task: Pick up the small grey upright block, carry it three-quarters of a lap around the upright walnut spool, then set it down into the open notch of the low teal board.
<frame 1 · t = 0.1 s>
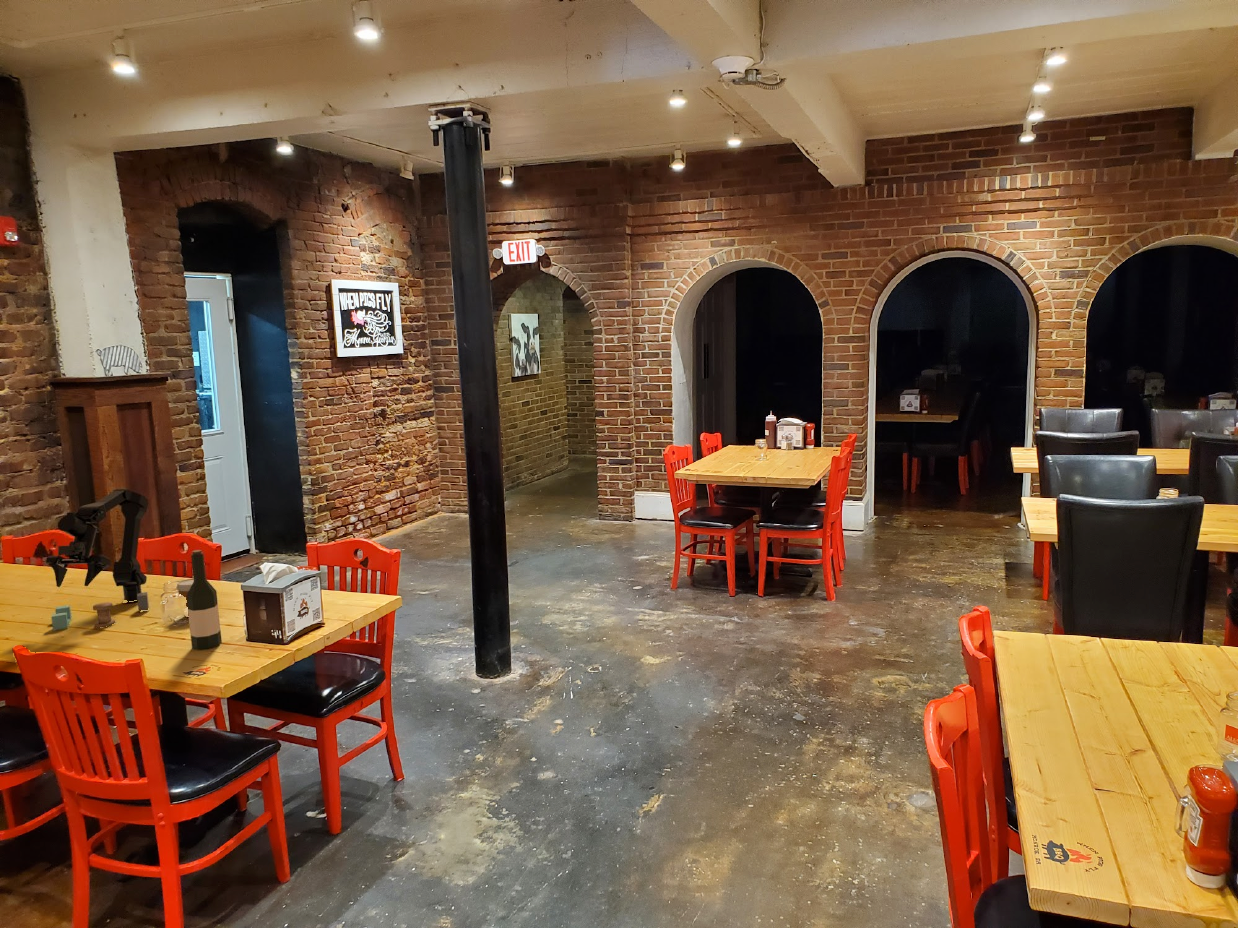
hand: (72, 586, 274), 15 cm above the table, tool tilted 30°, fingers open, 9 cm apart
grey upright block: (144, 610, 294), on the table
wine bottle: (207, 645, 257), on the table
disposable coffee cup: (195, 615, 287), on the table
spool: (105, 624, 280), on the table
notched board: (62, 624, 282), on the table
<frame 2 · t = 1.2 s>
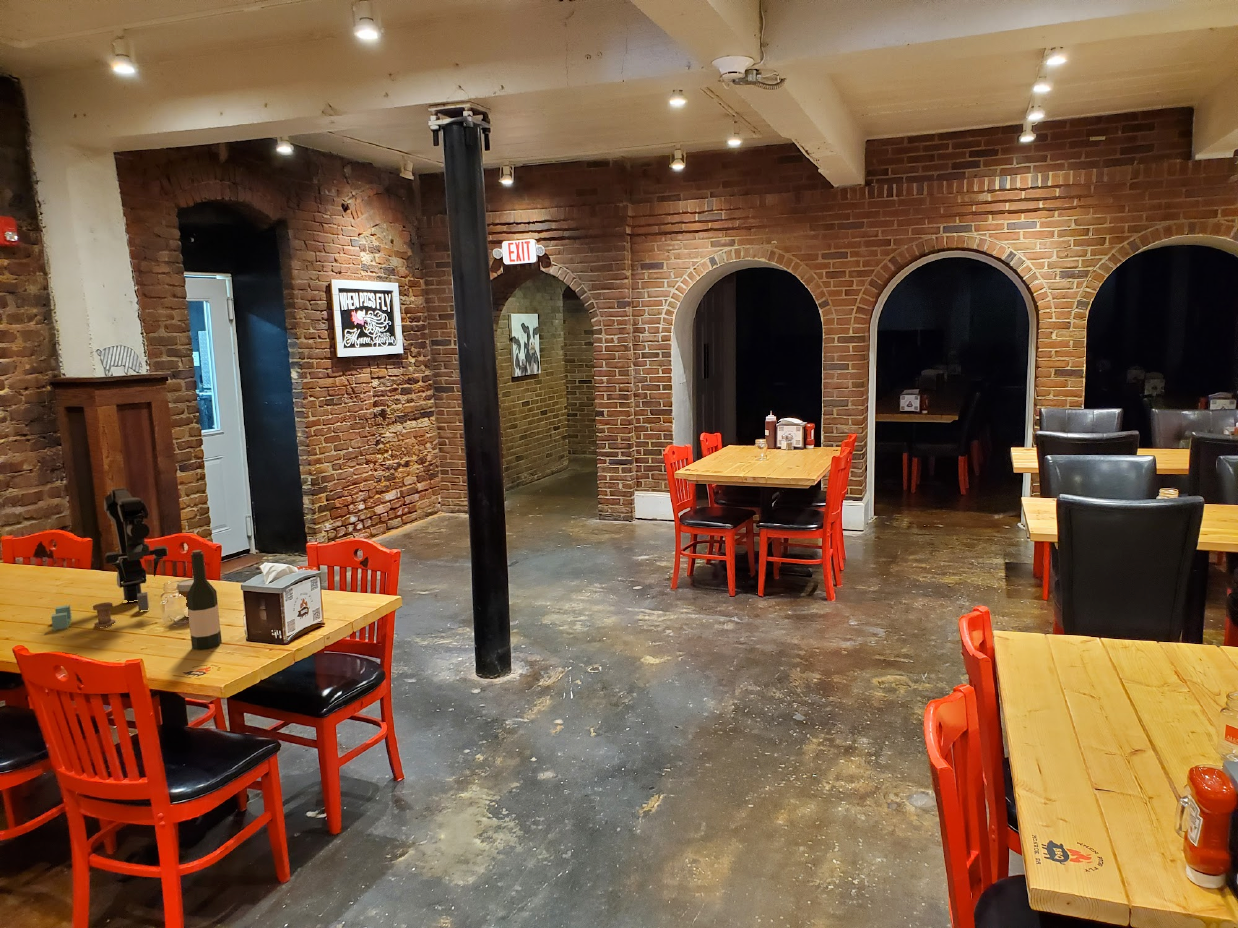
hand: (139, 578, 293), 12 cm above the table, tool pointing down, fingers open, 9 cm apart
nothing on the table moved.
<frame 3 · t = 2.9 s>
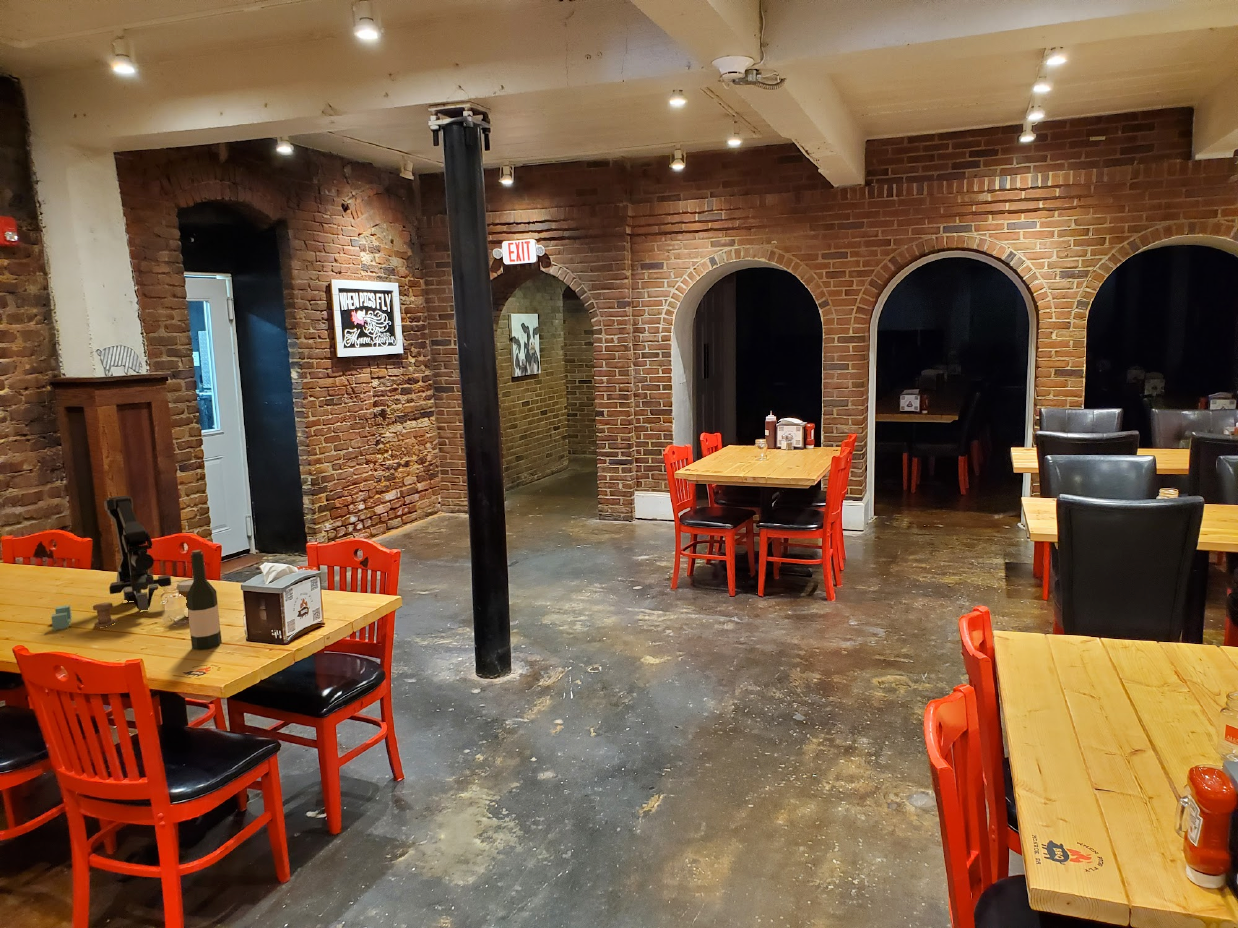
hand: (143, 607, 294), 1 cm above the table, tool pointing down, fingers closed on grey upright block, 3 cm apart
grey upright block: (144, 610, 294), on the table, touching gripper
everything else where it was.
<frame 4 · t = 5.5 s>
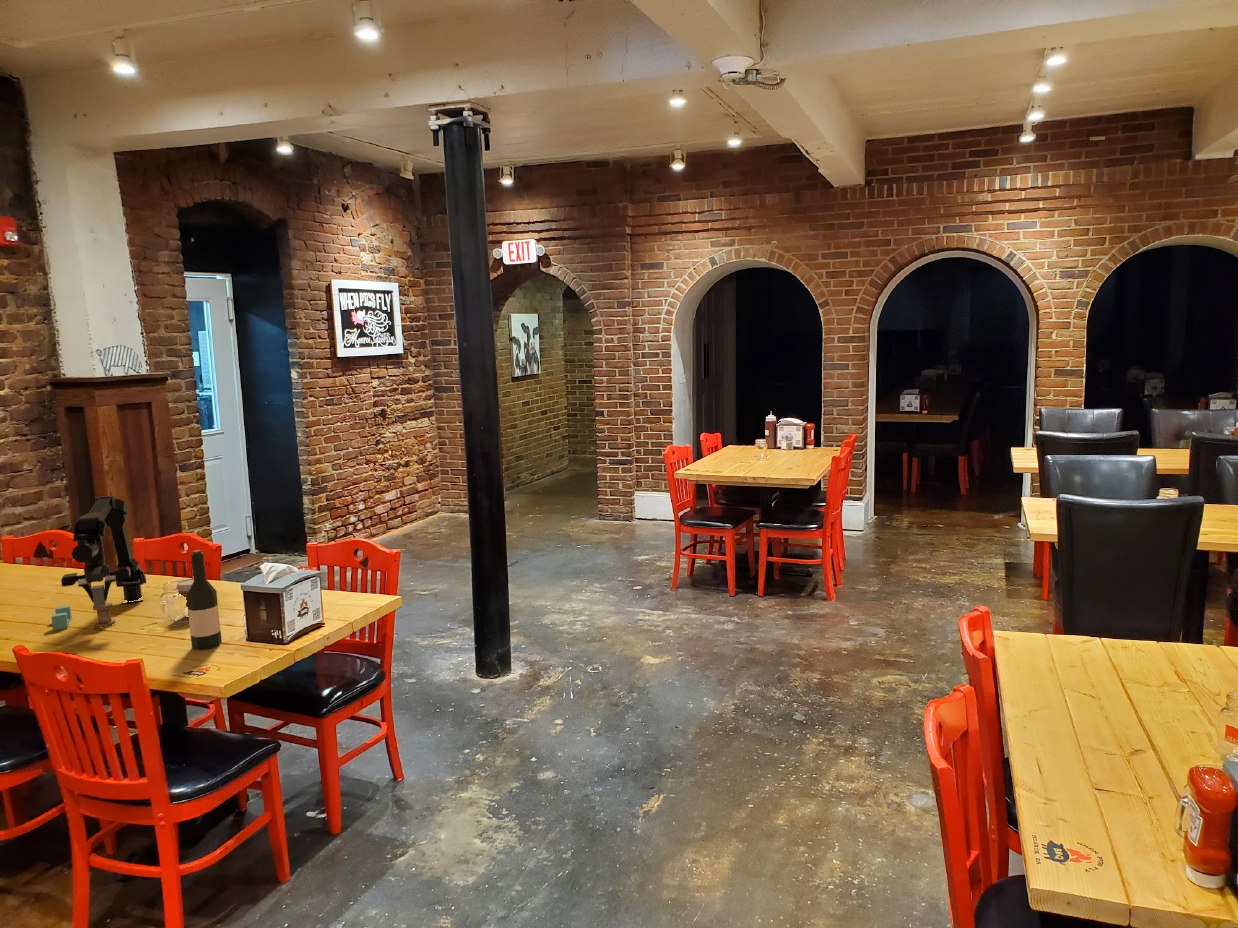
hand: (99, 601, 272), 10 cm above the table, tool pointing down, fingers closed on grey upright block, 3 cm apart
grey upright block: (100, 604, 272), point 9 cm above the table, touching gripper
everything else where it was.
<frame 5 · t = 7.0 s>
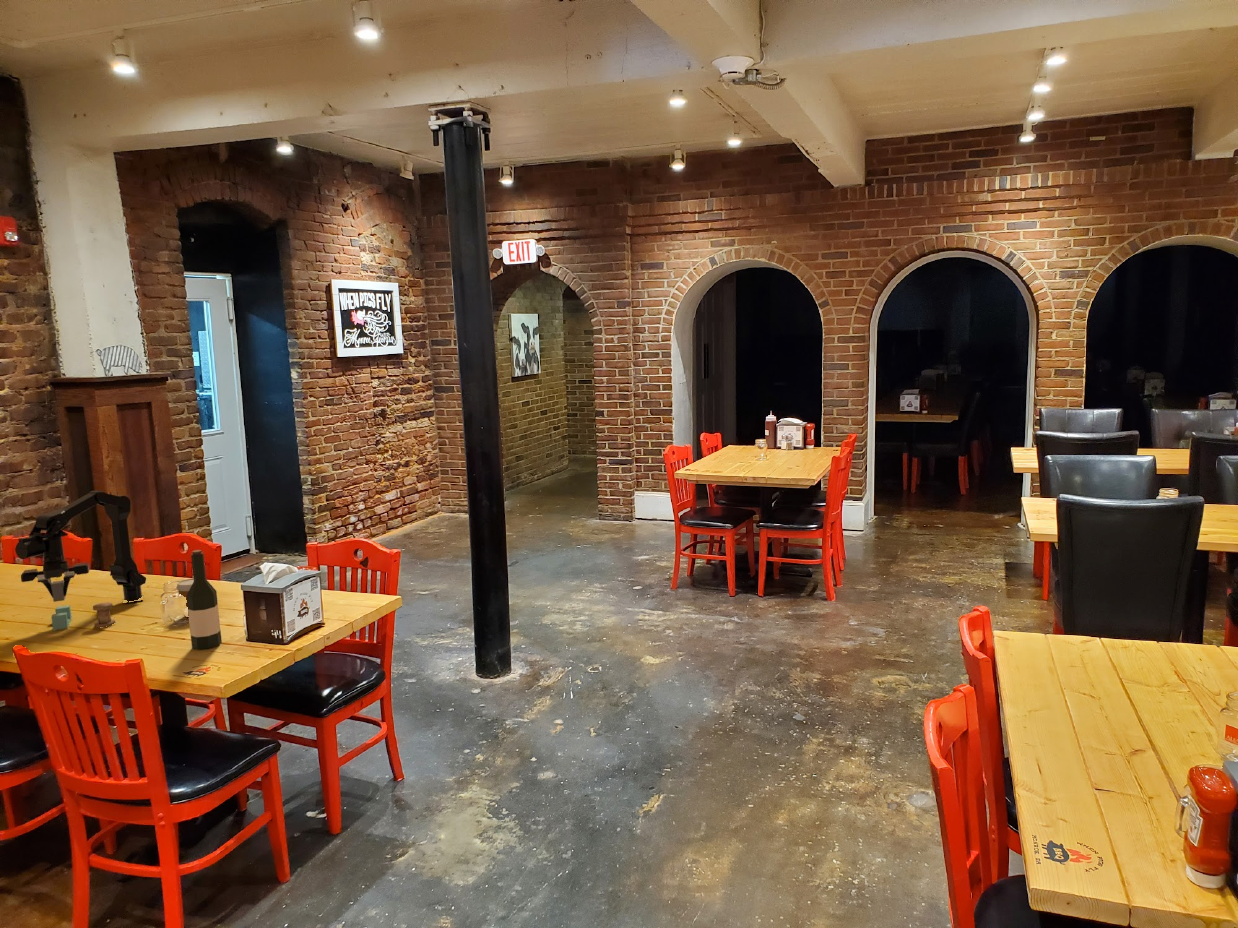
hand: (59, 596, 280), 10 cm above the table, tool pointing down, fingers closed on grey upright block, 3 cm apart
grey upright block: (59, 599, 280), point 9 cm above the table, touching gripper
everything else where it was.
when the fingers open (3 cm above the table, at t = 8.4 s): grey upright block drops 1 cm, resting on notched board.
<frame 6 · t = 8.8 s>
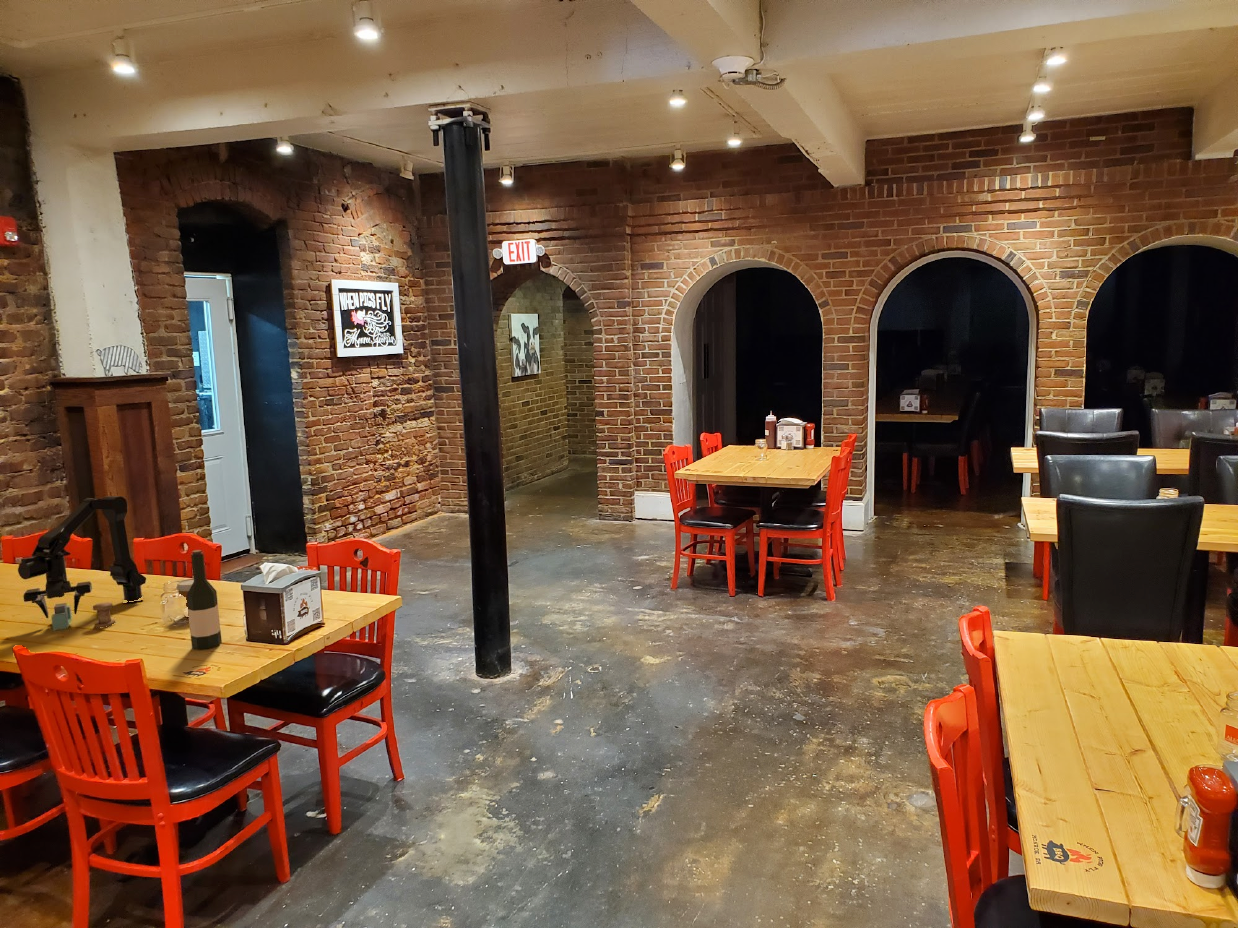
hand: (61, 615, 281), 3 cm above the table, tool pointing down, fingers open, 8 cm apart
grey upright block: (62, 622, 282), point 1 cm above the table, touching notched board
everything else where it was.
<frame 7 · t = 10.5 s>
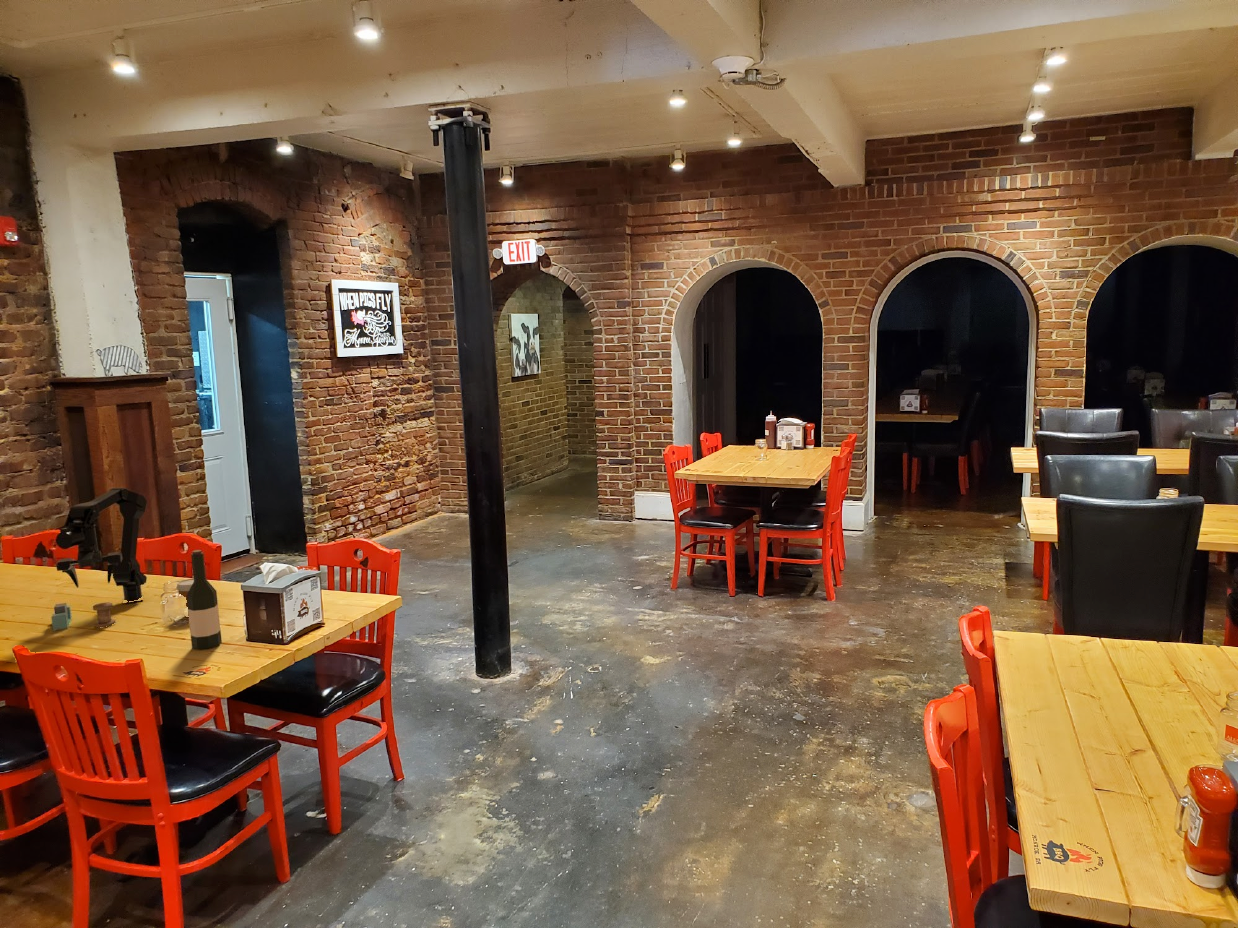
hand: (93, 585, 287), 12 cm above the table, tool pointing down, fingers open, 9 cm apart
nothing on the table moved.
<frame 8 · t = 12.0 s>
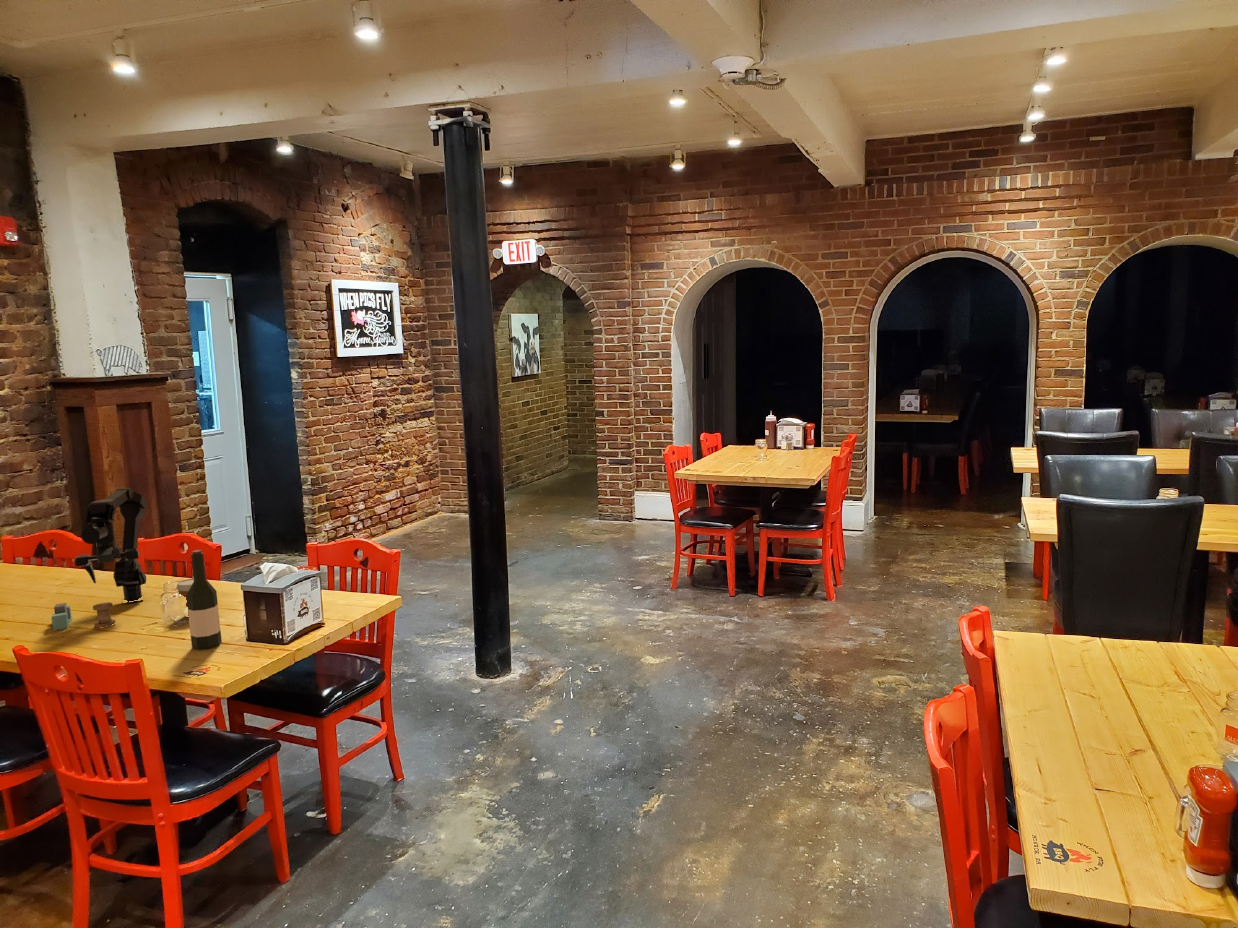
hand: (110, 580, 289), 12 cm above the table, tool pointing down, fingers open, 9 cm apart
nothing on the table moved.
at the end: grey upright block 0.0 cm off-centre on the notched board, point 0.8 cm above the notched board's base; grey upright block tilted 0°; the gripper is holding nothing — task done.
